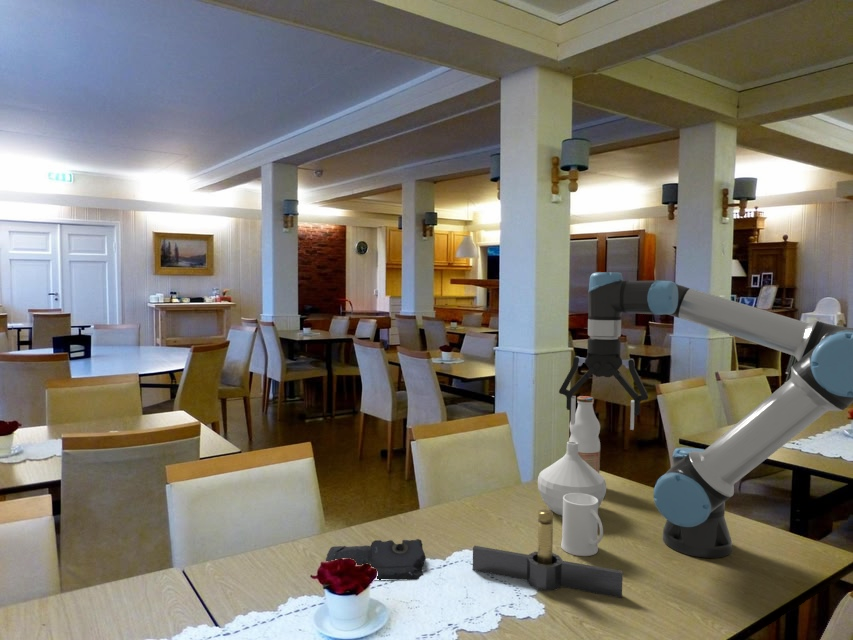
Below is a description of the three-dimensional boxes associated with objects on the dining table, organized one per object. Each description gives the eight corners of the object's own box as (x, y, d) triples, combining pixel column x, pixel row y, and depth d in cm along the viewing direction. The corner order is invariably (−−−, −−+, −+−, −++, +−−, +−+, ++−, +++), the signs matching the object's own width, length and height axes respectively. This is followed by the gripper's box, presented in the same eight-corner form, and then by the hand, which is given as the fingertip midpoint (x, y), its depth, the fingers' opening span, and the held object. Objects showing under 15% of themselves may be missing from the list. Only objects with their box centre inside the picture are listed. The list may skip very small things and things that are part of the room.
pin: (552, 580, 125) (554, 510, 125) (550, 586, 123) (551, 516, 122) (538, 577, 127) (539, 508, 126) (535, 584, 124) (537, 513, 123)
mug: (614, 559, 135) (615, 508, 134) (582, 565, 132) (583, 512, 132) (584, 538, 146) (585, 490, 145) (554, 543, 143) (555, 494, 143)
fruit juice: (584, 494, 176) (587, 401, 175) (561, 485, 184) (563, 396, 182) (605, 488, 182) (608, 398, 180) (581, 480, 189) (583, 393, 188)
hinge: (622, 588, 122) (623, 564, 122) (620, 605, 116) (621, 580, 115) (477, 561, 133) (478, 540, 133) (468, 576, 127) (468, 553, 127)
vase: (614, 525, 154) (616, 452, 153) (543, 524, 155) (545, 452, 154) (595, 499, 173) (596, 434, 172) (532, 498, 173) (533, 433, 172)
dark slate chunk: (328, 552, 139) (328, 532, 138) (421, 549, 141) (421, 529, 140) (322, 585, 123) (322, 563, 123) (427, 581, 126) (428, 560, 125)
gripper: (660, 338, 140) (657, 427, 141) (553, 334, 148) (551, 418, 150) (661, 341, 133) (658, 434, 134) (548, 336, 141) (546, 424, 143)
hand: (602, 426), depth 142 cm, fingers open, 13 cm apart
